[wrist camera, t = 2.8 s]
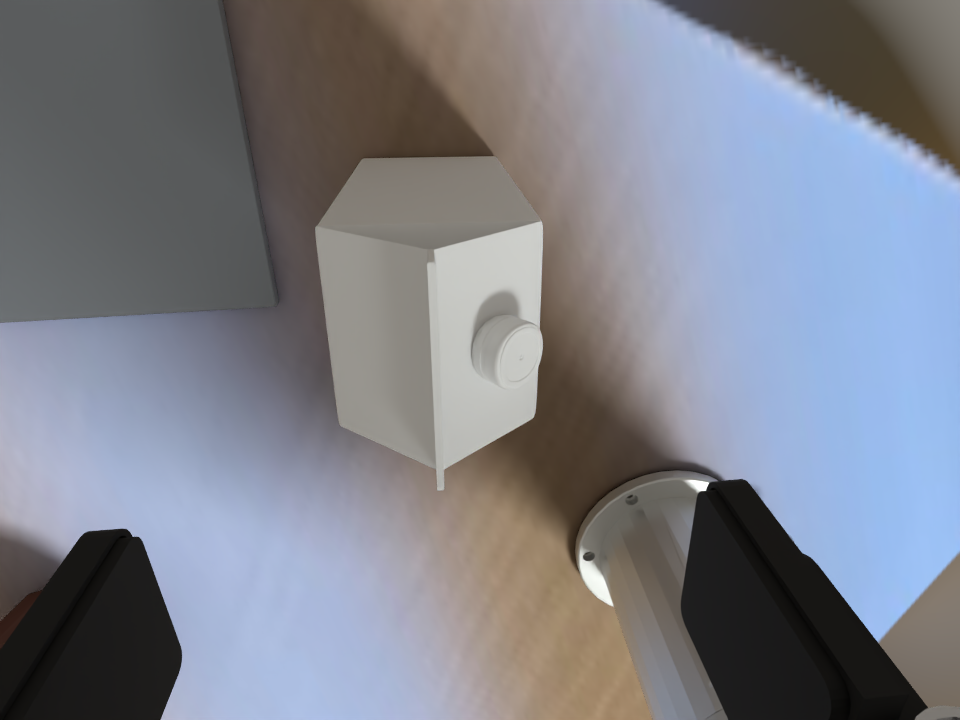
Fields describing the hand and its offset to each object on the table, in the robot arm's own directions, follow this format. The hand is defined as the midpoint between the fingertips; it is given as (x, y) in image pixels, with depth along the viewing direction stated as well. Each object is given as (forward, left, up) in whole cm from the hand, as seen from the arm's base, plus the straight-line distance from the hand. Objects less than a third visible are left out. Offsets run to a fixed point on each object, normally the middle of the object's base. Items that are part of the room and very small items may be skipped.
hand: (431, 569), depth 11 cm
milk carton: (0, 0, -26) cm, 26 cm away
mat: (+17, -4, -26) cm, 31 cm away
